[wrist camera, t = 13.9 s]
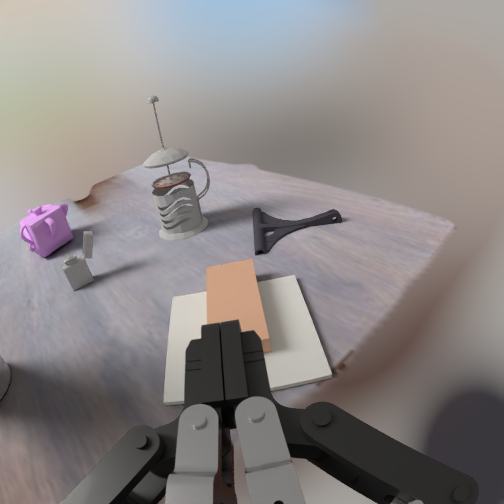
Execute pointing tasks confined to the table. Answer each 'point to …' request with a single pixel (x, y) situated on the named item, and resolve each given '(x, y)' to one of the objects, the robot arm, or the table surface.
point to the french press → (176, 194)
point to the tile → (236, 298)
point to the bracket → (284, 227)
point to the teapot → (46, 228)
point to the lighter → (80, 264)
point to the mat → (279, 329)
